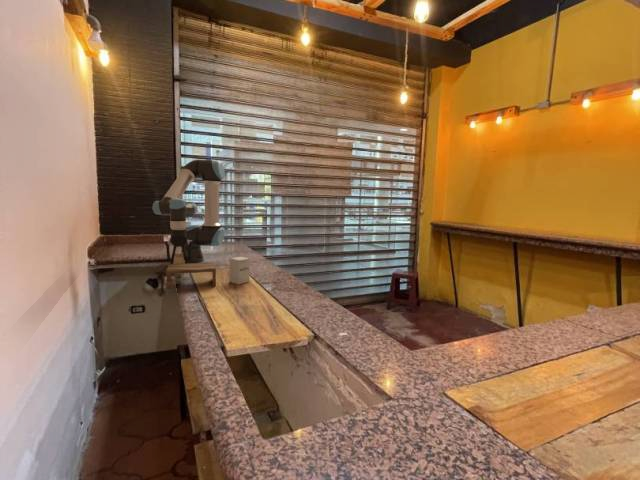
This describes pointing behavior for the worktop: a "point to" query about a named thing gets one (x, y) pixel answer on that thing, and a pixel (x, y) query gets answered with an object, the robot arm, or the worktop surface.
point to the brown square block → (172, 280)
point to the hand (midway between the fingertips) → (179, 272)
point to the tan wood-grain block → (179, 260)
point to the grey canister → (239, 270)
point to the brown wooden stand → (189, 270)
